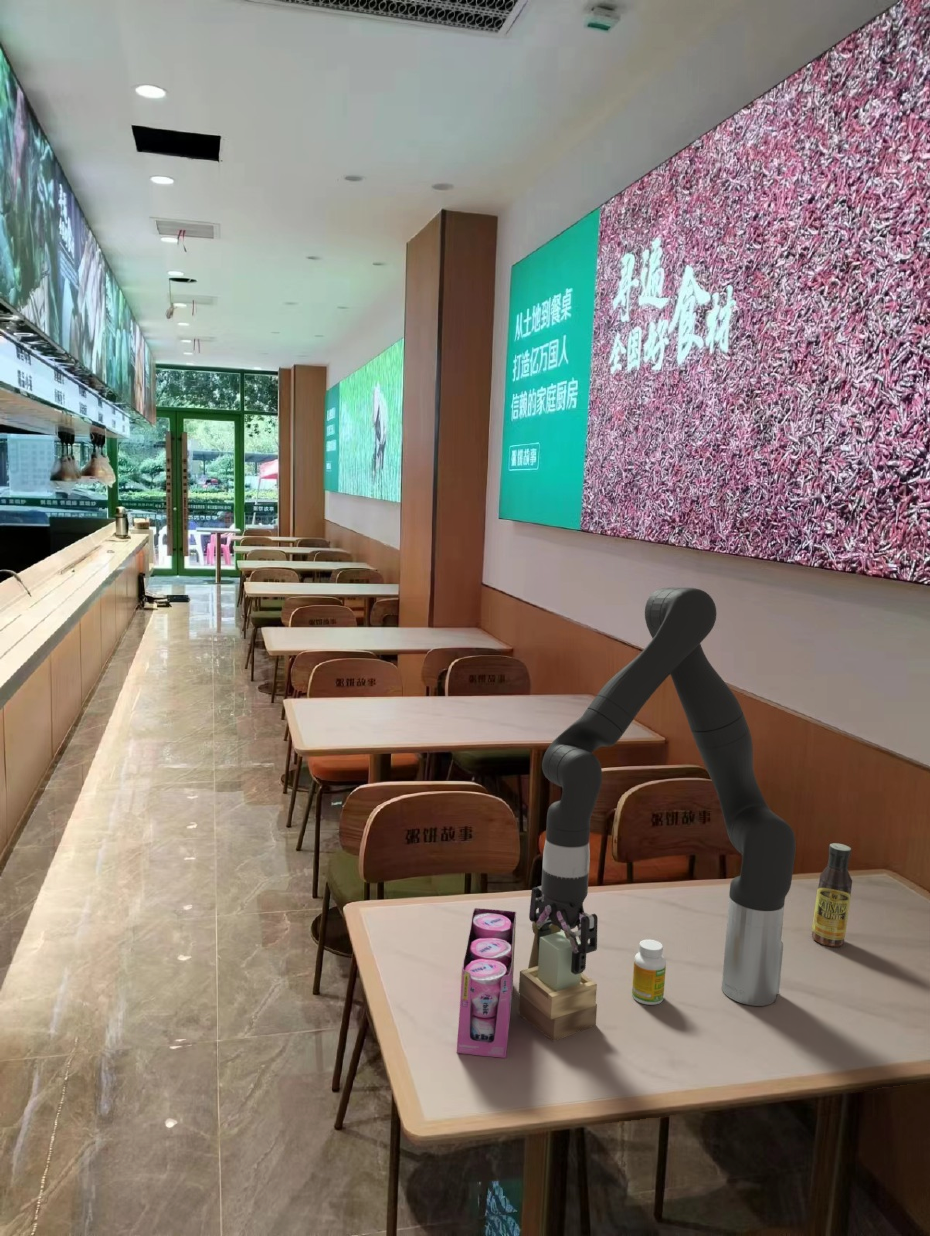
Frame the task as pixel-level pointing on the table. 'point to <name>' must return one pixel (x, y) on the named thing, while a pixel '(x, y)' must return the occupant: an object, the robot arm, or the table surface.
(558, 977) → the green block
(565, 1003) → the block top
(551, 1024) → the block bottom
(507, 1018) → the gum box
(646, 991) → the supplement bottle
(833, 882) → the sauce bottle
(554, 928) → the cork
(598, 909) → the table surface
